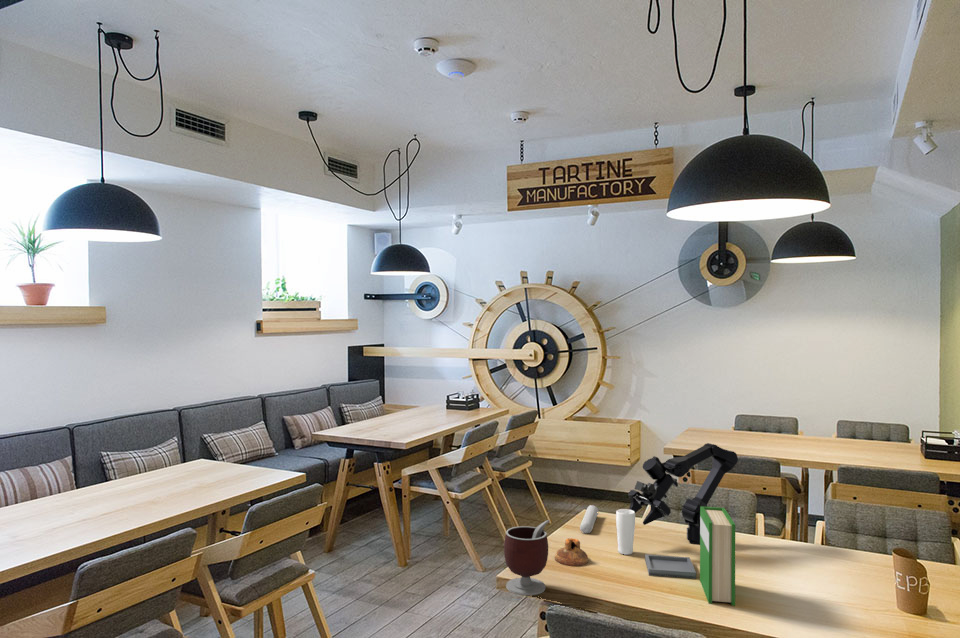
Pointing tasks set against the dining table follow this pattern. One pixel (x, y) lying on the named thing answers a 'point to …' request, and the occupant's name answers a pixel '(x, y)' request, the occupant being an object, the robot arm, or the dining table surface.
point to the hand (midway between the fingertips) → (635, 520)
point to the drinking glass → (625, 530)
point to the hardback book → (717, 554)
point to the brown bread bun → (571, 554)
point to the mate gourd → (526, 558)
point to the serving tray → (670, 566)
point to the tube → (589, 519)
